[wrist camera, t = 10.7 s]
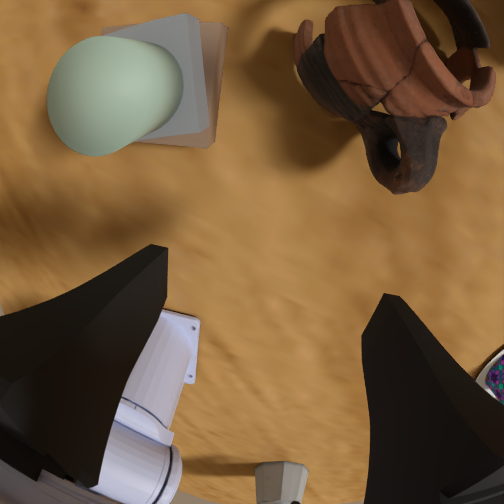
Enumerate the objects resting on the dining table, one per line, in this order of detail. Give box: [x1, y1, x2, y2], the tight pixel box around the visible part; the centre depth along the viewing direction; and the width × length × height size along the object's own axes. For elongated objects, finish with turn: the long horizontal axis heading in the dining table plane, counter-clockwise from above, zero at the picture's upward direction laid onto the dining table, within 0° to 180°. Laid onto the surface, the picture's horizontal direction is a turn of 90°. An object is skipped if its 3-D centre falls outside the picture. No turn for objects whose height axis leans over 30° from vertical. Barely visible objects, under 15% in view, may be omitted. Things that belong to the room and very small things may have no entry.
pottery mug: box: [293, 0, 496, 195], centre depth 13 cm, size 12×10×8 cm
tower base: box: [101, 22, 229, 149], centre depth 16 cm, size 7×7×2 cm
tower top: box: [103, 13, 210, 141], centre depth 14 cm, size 6×6×2 cm
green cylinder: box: [47, 36, 184, 156], centre depth 11 cm, size 5×5×4 cm
